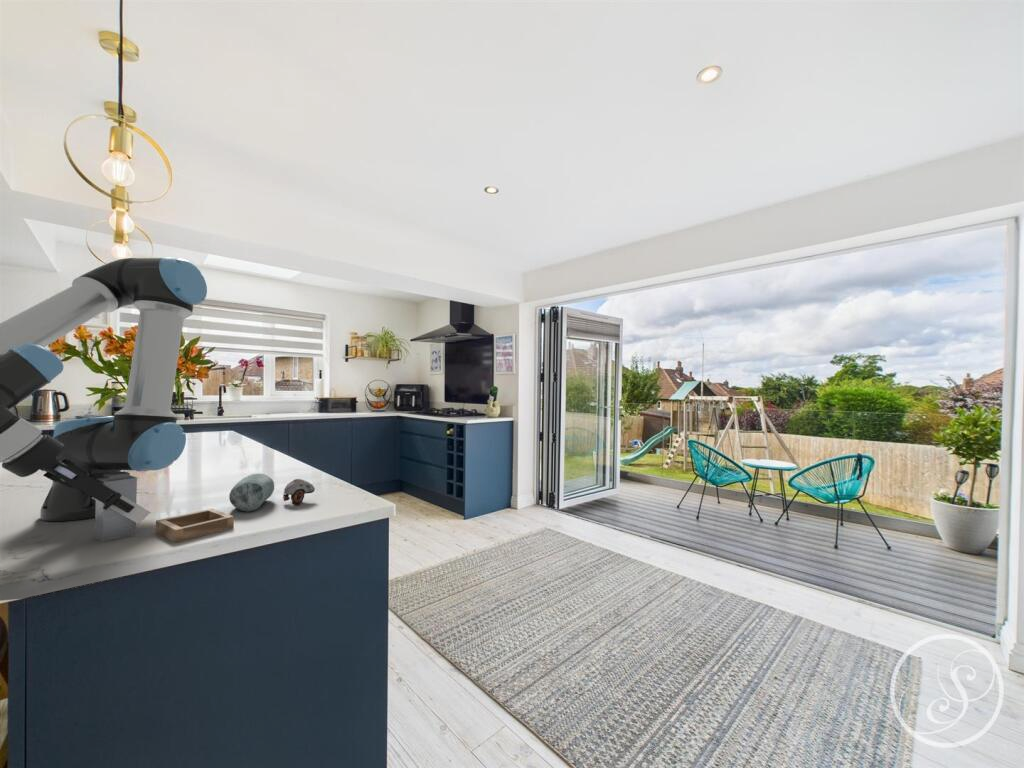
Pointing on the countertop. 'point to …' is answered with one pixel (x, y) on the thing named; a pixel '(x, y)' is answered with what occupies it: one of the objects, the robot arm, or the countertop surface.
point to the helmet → (297, 490)
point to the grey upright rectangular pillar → (109, 520)
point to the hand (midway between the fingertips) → (135, 513)
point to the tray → (194, 525)
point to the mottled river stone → (251, 492)
